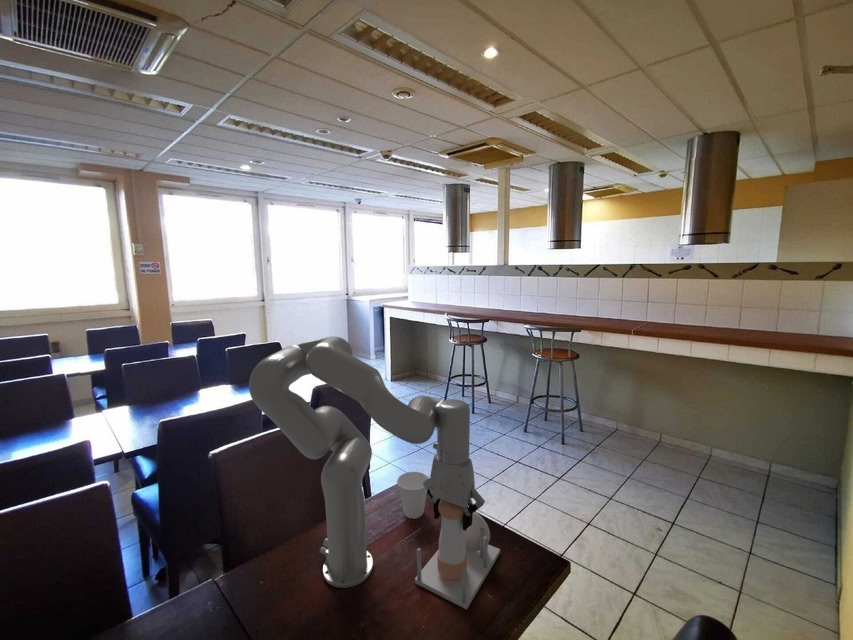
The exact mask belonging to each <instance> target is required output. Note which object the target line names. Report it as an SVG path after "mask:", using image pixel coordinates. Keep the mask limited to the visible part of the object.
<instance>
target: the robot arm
mask: <svg viewBox="0 0 853 640" xmlns="http://www.w3.org/2000/svg"><path fill="white" fill-rule="evenodd" d="M307 375H312V376H313V377H314V378H316V379H318V380H320V381H322V382H323V383H325V384H327V385H329V386H330V387H332V388H334V389H336V390H337V391H338V392H341V393H342V394H344V395H346V396H348V397H349V398H351V399H353V400H355V402H358V403H359V404H360V406H361V407H362V408H363V410H364V411H365V412H366V413H367V414H368V416H369V417H370V418H371V419H372V420H373V421H374V423H376V424H377V425H378V426H379V427H380V428H382V430H385V431H386V432H388V433H390V434H392V435H393V436H394V437H396V438H398V439H400V440H402V441H404V442H407V443H410V444H414V445H420V444H424V443H426V442H427V441H429V440H430V439H431V437H432V436H433V434H434V431H435V429H436V442H434V443H433V444H432V448H433V449H434V450H436V453H435V454H434V456H433V460H432V462H431V463H432V464H431V470H430V477H428V479H427V480H425V481H424V482H423V485H424V487H425V488H426V490H427V494H428V496H429V497H430V498H431V500H430V502H431V503H432V505H433V506H432V507H433V508H432V509H433V511H432V512H433V514H434V515H433V519H434V520H438V519H439V518H440V517H441V514H440V512H439V510H438V505H439V502H440V501H441V500H444V501H446V502H449V503H452V504H455V505H457V506H461V507H462V508H463V510H464V512H465V513H464V514H463V530H464V531H466V530H467V528H468V527H469V526H471V525H472V513H474V512H477V511H478V510H479V509H480V508H481V507H483V506H484V504H485V503H486V500H485V499H484V498H483V497H482V496H481V494H480V493H479V492H478V491H477V490H476V489H475V488H476V485H475V472H474V471H475V470H474V467H473V465H474V464H473V462H472V459H471V458H470V435H471V434H470V431H471V429H470V428H471V426H470V424H471V419H470V418H471V409H470V406H469V404H468V402H465V401H464V400H460V399H457V398H456V399H455V398H454V399H452V398H451V399H441V398H436V397H431V396H427V395H418V396H415V397H413V398H411V400H409V402H408V404H406V403H404V402H403V401H401V400H399V398H397V397H395V396H394V395H393V394H392V392H390V390H389V389H388V388H387V387H386V386H387V385H385V381H384V380H383V377H382V375H381V373H380V372H379V370H378V369H377V368H375V367H374V366H372V365H370V364H368V363H366V362H364V361H362V360H360V359H359V358H357V357H355V356H353V349H352V346H351V344H349V342H348V341H347V340H346V339H345V338H342V337H340V336H328V337H323V338H320V339H315V340H310V341H305V342H300V343H296V344H292V345H289V346H286V347H284V348H282V349H280V350H278V351H276V352H274V353H272V354H270V355H268V356H266V357H265V358H262V359H261V361H260V362H258V363H257V364H256V366H255V367H253V369H252V371H251V374H250V377H249V381H248V390H249V394H250V397H251V398H252V399H251V400H252V401H253V403H254V404H255V405H256V406H257V407H258V409H259V410H260V412H262V413H264V414H265V416H266V417H268V419H270V420H271V421H272V422H273V423H274V424H275V425H276V426H277V427H278V429H279V430H280V431H281V432H282V433H283V434H284V435H285V437H286V438H287V439H288V440H289V441H290V442H291V443H292V444H293V446H294V447H296V449H298V451H299V452H300V453H301V454H302V455H303V456H305V458H308V459H310V460H318V459H321V458H322V457H324V456H325V455H327V453H328V452H329V451H332V453H331V454H330V455H329V457H328V459H327V460H326V462H325V464H324V466H323V468H322V472H321V476H320V483H321V488H322V492H323V497H324V503H325V504H324V505H325V517H326V535H327V537H326V538H324V539H323V541H322V545H323V546H321V547H320V548H319V552H320V553H321V554H323V555H325V561H324V563H323V566H322V575H323V579H324V580H325V582H326V583H328V585H331V586H332V587H334V588H339V589H340V588H341V589H343V588H344V589H346V588H347V589H348V588H352V587H355V586H358V585H360V584H362V583H363V582H364V581H366V580H367V578H369V577H370V575H371V573H372V572H373V568H374V558H373V555H372V554H371V552H370V551H368V550H367V526H366V520H367V519H366V500H365V494H364V490H363V479H364V476H365V474H366V472H367V469H368V467H369V465H370V463H371V461H372V456H373V450H372V449H373V448H372V447H371V444H370V442H369V441H368V439H367V438H366V437H365V436H364V434H362V432H361V431H360V430H359V429H358V428H357V427H356V426H355V425H354V423H353V422H352V421H351V419H349V418H348V417H347V416H346V415H345V414H344V412H342V411H341V410H340V409H338V408H337V407H334V406H331V405H321V406H319V407H316V408H315V409H314V408H313V407H312V406H311V405H310V404H309V403H308V402H307V401H306V399H304V398H303V396H301V395H299V394H297V393H296V392H294V391H291V390H290V386H291V385H292V384H293V383H295V382H297V381H298V380H299V379H301V378H302V377H304V376H307ZM472 499H473V500H474V501H475V503H474V502H473V501H472Z"/></svg>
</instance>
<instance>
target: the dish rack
mask: <svg viewBox="0 0 853 640" xmlns="http://www.w3.org/2000/svg"><path fill="white" fill-rule="evenodd" d="M464 533H465V539H466V554H467V571H466V569H465V568H463V569H462V577H461V578H459V579H447V578H445V577H443V576H442V575H441V574H440V573H439V572H438V569H437V556H438V552H439V548H438V549H437V550H436V551H435V553H434V554H433V556H432V557H431V558H430V559H429V560H428V562H427V563H426V565H424V567H423V568H422V549H421V547H418V548H417V549H416V568H417V569H416V572H417V573H416V574H417V575H416V576H415V578H414V584H416V585H418V586H420V587H421V588H424V589H426V590H428V591H429V592H432V593H433V594H436V595H438V596H439V597H442V598H443V599H445V600H448V601H449V602H450V603H452V604H455V605H457V606H458V607H461V608H463V609H465V610H468V608H469V607H470V605H471V603H472V602H473V600H474V598H475V597H476V595H477V593H478V591H479V590H480V588H481V586H482V584H483V583H484V581H485V580H486V577H487V576H488V575H489V573H490V571H491V570H492V568H493V566H494V564H495V562H496V560H497V559H498V558H499V555H500V554H501V549H500V548H498V547H496V546H494V545H490V544H489V543H490V539H491V533H490V528H489V525H488V523H487V522H486V520H485V519H484V518H483V517H482V516H481V515H480V514H479V513H477V511H475V512H474V513H472V525H471V526H469V527H468V528H467V530H466V531H464Z"/></svg>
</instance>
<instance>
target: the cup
mask: <svg viewBox="0 0 853 640" xmlns="http://www.w3.org/2000/svg"><path fill="white" fill-rule="evenodd" d="M428 478H429V476H428V475H427V474H425V473H423V472H419V471H408V472H405V473H402V474H400V475H399V476H398V478H397V480H396V484H397V485H398V490H399V491H398V492H399V495H400V501H401V505H402V512H403V515H404V516H405V517H407V518H409V519H411V518H412V519H413V520H414V519H419V518H420V517H421V516H423V515H424V512H425V504H426V501H427V500H426V499H427V494H428V493H427V490H426V488H425V487H424V485H423V482H424V481H425V480H427V479H428Z"/></svg>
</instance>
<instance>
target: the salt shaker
mask: <svg viewBox="0 0 853 640" xmlns="http://www.w3.org/2000/svg"><path fill="white" fill-rule="evenodd" d="M438 510H439V512H440V514H441V516H440V517H441V518H440V519H441V520H440V521H441V522H440V524H441V525H440V526H441V528H440V533H439V538H438V549H439V552H438V556H437V569H438V572H439V573H440V574H441V575H442V576H443V577H445V578H447V579H459V578H461V577H462V569H463V568H465V569H466V571H467V554H466V539H465V533H464V530H463V514H464V513H465V512H464V510H463V508H462V507H461V506H457V505H455V504H452V503H449V502H446V501H444V500H441V501H440V502H439V505H438Z"/></svg>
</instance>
